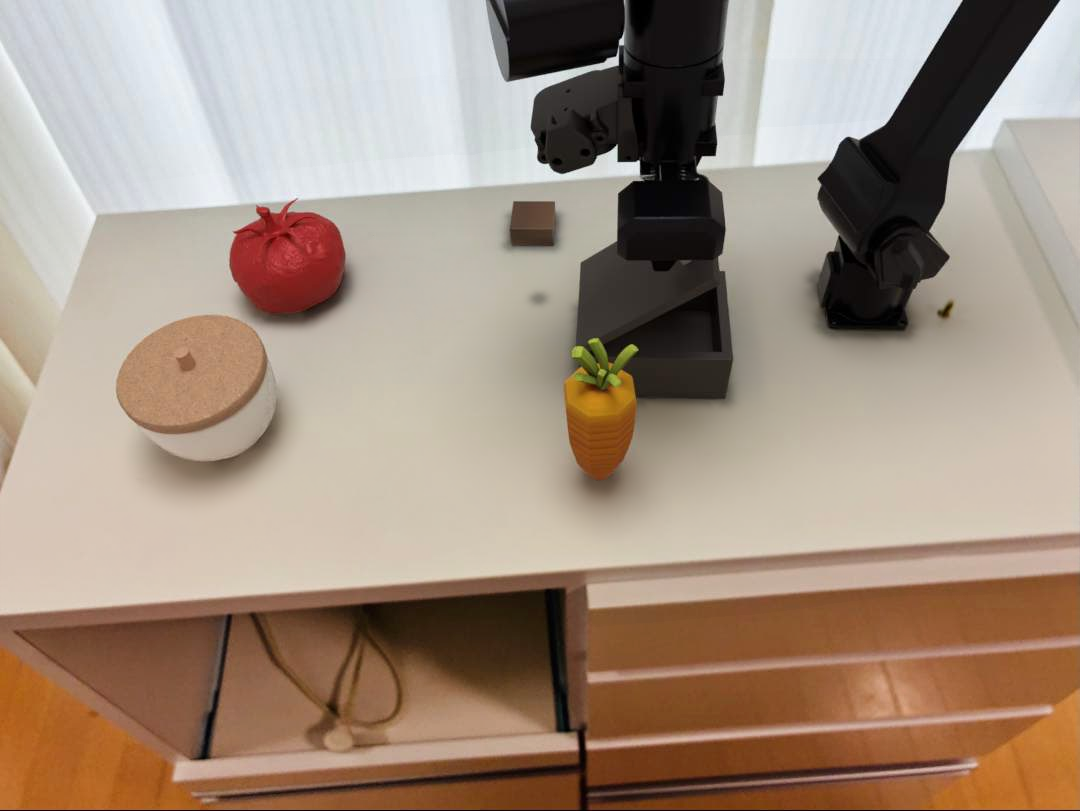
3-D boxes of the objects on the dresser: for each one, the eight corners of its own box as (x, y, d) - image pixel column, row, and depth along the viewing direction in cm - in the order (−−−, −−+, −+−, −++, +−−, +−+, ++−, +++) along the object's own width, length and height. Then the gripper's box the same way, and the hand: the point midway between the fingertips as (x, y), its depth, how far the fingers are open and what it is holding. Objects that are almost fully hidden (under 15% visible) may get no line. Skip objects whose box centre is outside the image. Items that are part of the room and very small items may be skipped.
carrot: (639, 458, 63) (650, 324, 51) (622, 513, 60) (629, 384, 48) (577, 443, 64) (573, 307, 52) (557, 496, 61) (548, 365, 49)
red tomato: (359, 314, 73) (333, 233, 66) (246, 337, 72) (207, 258, 65) (348, 242, 79) (323, 160, 72) (244, 263, 78) (207, 182, 71)
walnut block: (555, 217, 80) (555, 200, 78) (553, 245, 77) (552, 229, 76) (514, 217, 80) (513, 200, 79) (511, 245, 78) (509, 228, 76)
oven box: (718, 311, 71) (725, 270, 67) (725, 399, 66) (733, 359, 62) (584, 309, 72) (583, 269, 68) (579, 395, 67) (578, 357, 63)
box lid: (713, 193, 61) (674, 149, 59) (721, 284, 56) (678, 240, 53) (586, 267, 68) (546, 231, 66) (581, 355, 63) (537, 320, 60)
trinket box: (294, 367, 70) (258, 288, 62) (293, 472, 63) (253, 397, 56) (166, 388, 69) (115, 310, 62) (152, 496, 63) (92, 424, 55)
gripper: (544, -31, 54) (557, 168, 66) (521, 141, 43) (541, 343, 55) (718, -37, 53) (697, 167, 65) (741, 138, 41) (710, 344, 54)
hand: (660, 247), depth 60 cm, fingers closed on box lid, 4 cm apart
